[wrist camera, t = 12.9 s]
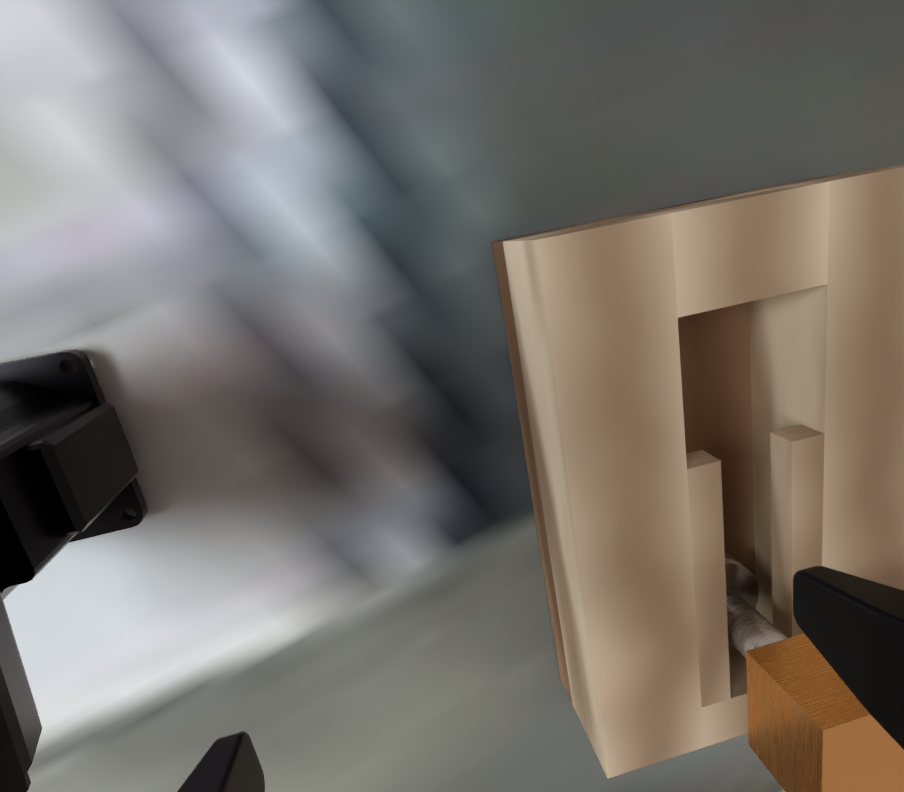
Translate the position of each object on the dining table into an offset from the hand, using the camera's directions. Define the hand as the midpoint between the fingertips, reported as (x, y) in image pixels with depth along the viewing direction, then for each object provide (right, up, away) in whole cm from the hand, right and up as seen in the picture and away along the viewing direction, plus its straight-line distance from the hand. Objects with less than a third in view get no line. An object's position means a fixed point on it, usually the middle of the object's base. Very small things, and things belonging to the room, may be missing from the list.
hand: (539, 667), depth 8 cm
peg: (+9, -4, +15) cm, 18 cm away
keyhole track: (+8, +2, +15) cm, 17 cm away
